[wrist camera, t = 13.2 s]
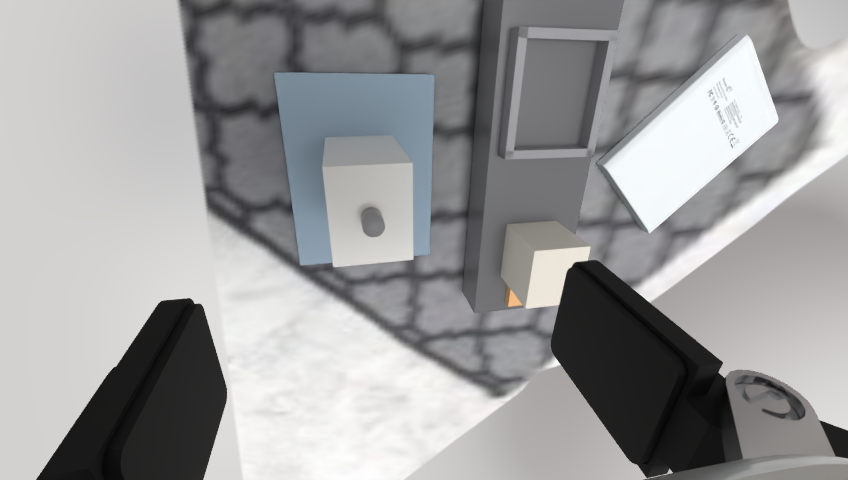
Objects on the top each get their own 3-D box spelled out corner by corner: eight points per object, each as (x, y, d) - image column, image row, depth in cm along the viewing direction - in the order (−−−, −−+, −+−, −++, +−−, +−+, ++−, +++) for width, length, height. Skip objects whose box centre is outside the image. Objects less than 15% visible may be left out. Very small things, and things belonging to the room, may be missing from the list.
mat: (275, 71, 21) (273, 72, 21) (431, 74, 23) (434, 74, 23) (301, 259, 27) (300, 265, 26) (427, 249, 28) (429, 254, 28)
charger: (325, 137, 23) (321, 174, 16) (392, 134, 24) (417, 169, 16) (333, 215, 25) (333, 279, 18) (394, 210, 26) (417, 271, 18)
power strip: (494, -152, 19) (570, -249, 13) (616, -135, 21) (736, -217, 15) (462, 291, 31) (494, 350, 25) (542, 283, 32) (591, 336, 26)
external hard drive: (591, 161, 29) (729, 34, 27) (636, 227, 32) (761, 120, 30) (604, 166, 27) (751, 33, 25) (650, 235, 31) (782, 123, 29)
